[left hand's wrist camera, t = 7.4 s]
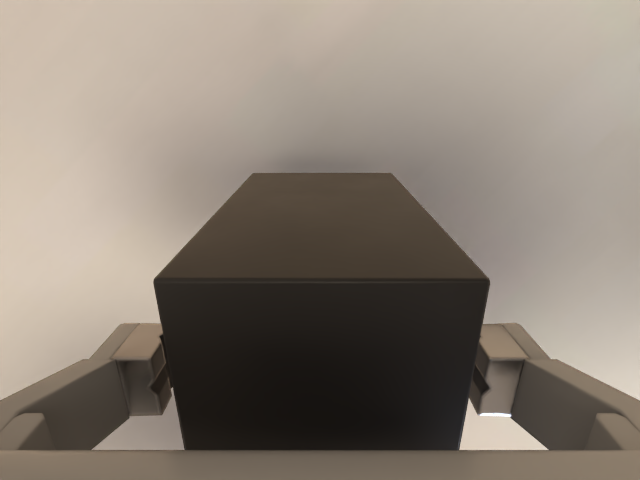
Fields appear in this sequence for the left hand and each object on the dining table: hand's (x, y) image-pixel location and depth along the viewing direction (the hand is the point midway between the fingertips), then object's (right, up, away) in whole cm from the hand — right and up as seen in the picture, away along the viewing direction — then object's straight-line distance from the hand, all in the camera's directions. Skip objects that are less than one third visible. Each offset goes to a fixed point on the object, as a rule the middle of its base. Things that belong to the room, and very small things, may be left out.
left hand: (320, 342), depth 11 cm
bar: (0, -6, +9) cm, 11 cm away
